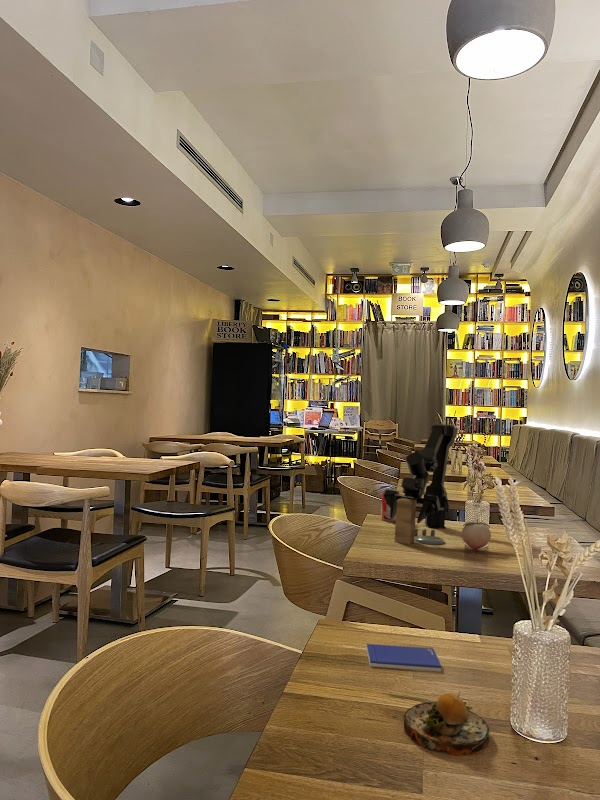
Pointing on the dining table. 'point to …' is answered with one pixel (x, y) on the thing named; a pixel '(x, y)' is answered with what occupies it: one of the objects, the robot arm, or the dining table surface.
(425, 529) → the pin row
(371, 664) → the hard drive
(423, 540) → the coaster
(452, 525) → the dining table surface
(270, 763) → the dining table surface
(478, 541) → the decorative fruit
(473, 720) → the dish of food
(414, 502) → the walnut block
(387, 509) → the soda can
